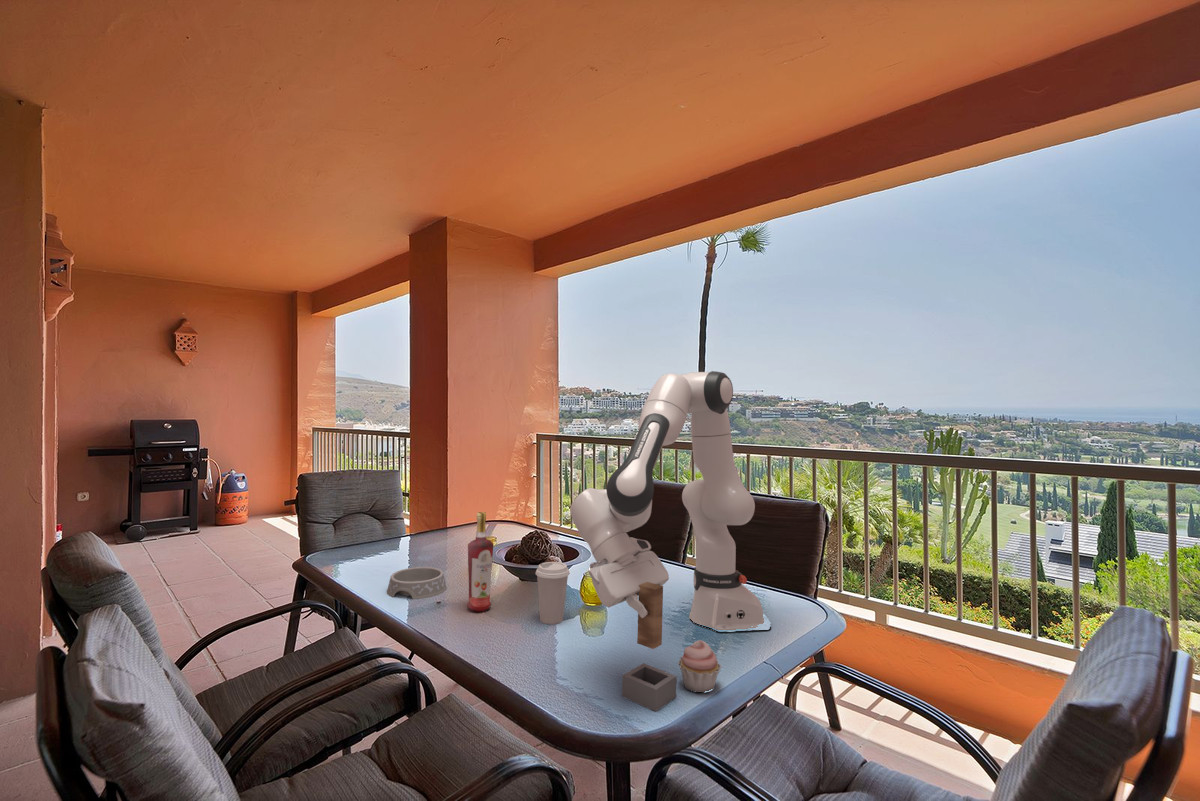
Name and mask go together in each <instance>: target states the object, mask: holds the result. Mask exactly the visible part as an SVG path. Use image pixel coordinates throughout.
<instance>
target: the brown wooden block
mask: <svg viewBox="0 0 1200 801" xmlns="http://www.w3.org/2000/svg"><path fill="white" fill-rule="evenodd" d="M639 587H640V591H639V596H638V600H639V601H640V602H641V603H642V604H643V605H647V607H648V609H649V610H650V614H649V615H647V616H646V617H644V618H641V617H640V615H639V614H638V613H637V643H636V644H638V645H640V646H643V647H646V648H647V649H648V648H649V649H652V650H655V649H657V648H659V647H661V646H662V644H663V643H662V640H663V612H664V611H663V606H664V603H663V602H664V597H663V596H664V585H662V586H661V585H657V584H654V583H650V582H645V583H643V584H640V585H639Z"/></svg>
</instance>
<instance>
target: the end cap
mask: <svg viewBox="0 0 1200 801" xmlns="http://www.w3.org/2000/svg"><path fill="white" fill-rule="evenodd" d="M621 678H622V679H621V680H622V682H621V687H622V688H621V697H623V698H625V699H626V700H629V701H631V702H634V703H636V704H638V705H640V706H643V707H644V708H647V709H649V710H651V711H653V712H655V713H657V712H658V711H659V710H660V709H662V708H663V707H665V706H667V705H668V704H669V703H671V700H672V701H673V700H674V699H676V698H677V682H678V680H677V679H678V678H677V675H675V674H673V673H670V672H667V671H665V670H662V669H660V668H657V667H654V666H652V665H649V664H647V663H644V662H643V663H642V664H640V665H638V666H636V667H634V668H632V669H631V670H629V671H627V672H626V673H624V674H622V677H621ZM675 697H676V698H675ZM664 705H665V706H664Z"/></svg>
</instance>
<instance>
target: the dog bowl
mask: <svg viewBox="0 0 1200 801" xmlns="http://www.w3.org/2000/svg"><path fill="white" fill-rule="evenodd" d="M446 590H447V584H446V580H445V575H444V571H443V570H442V569H440V568H436V567H433V566H432V567H431V566H417V567H416V566H415V567H408V568H405V569H404V568H403V569H400V570H397V571H395V572H394V573H392V574H391V575H390V578H389V582H388V587H387V589H386V595H387V596H389V597H390V598H394V596H395V595H396V594H398V595H399V594H400V595H401V596H402V595H403V596H410V597H411V598H412V600H421V599H428V598H431V597H435V596H438V595H441V594H444V593H445V592H446Z"/></svg>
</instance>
